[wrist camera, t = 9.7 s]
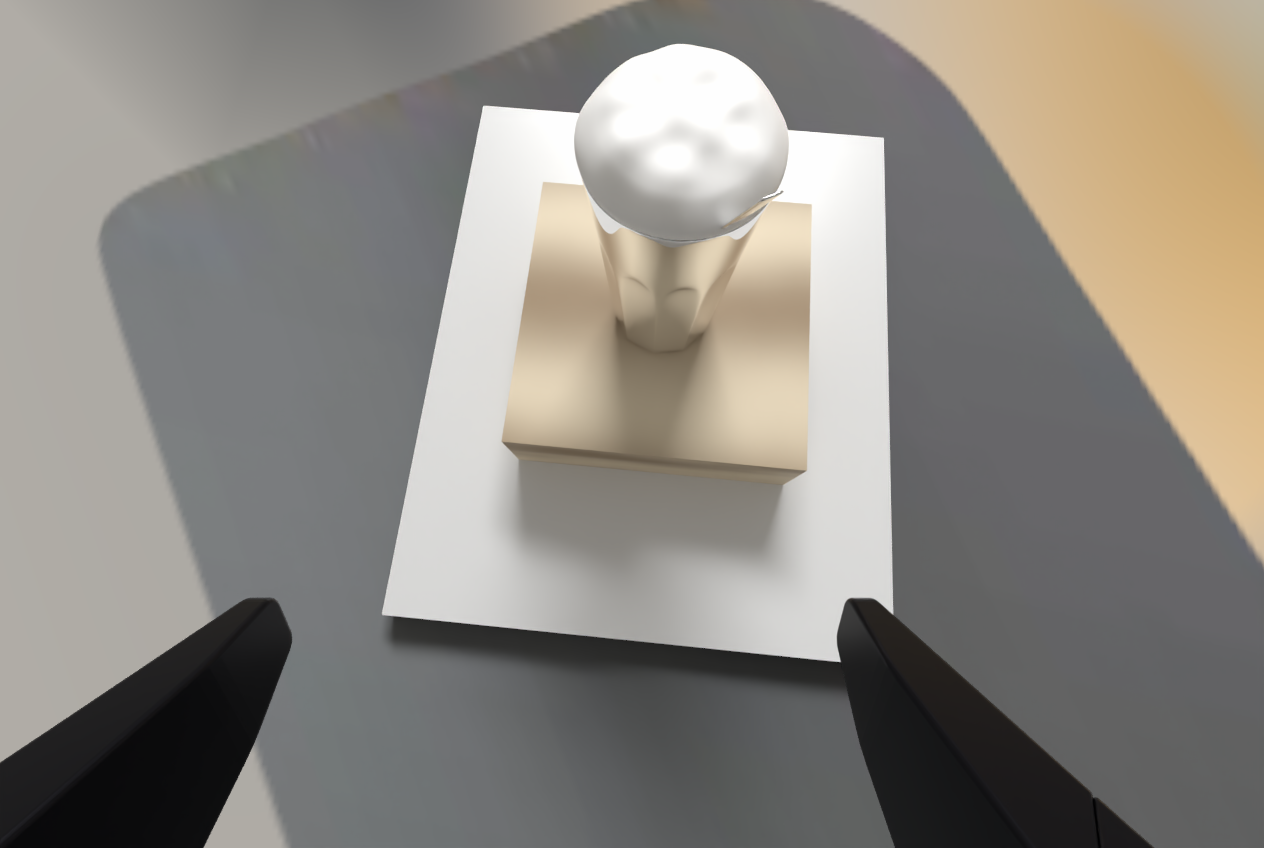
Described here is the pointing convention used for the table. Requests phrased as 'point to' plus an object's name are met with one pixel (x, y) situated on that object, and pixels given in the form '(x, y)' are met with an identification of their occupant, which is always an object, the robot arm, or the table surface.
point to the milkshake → (677, 183)
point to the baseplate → (645, 501)
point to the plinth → (663, 360)
